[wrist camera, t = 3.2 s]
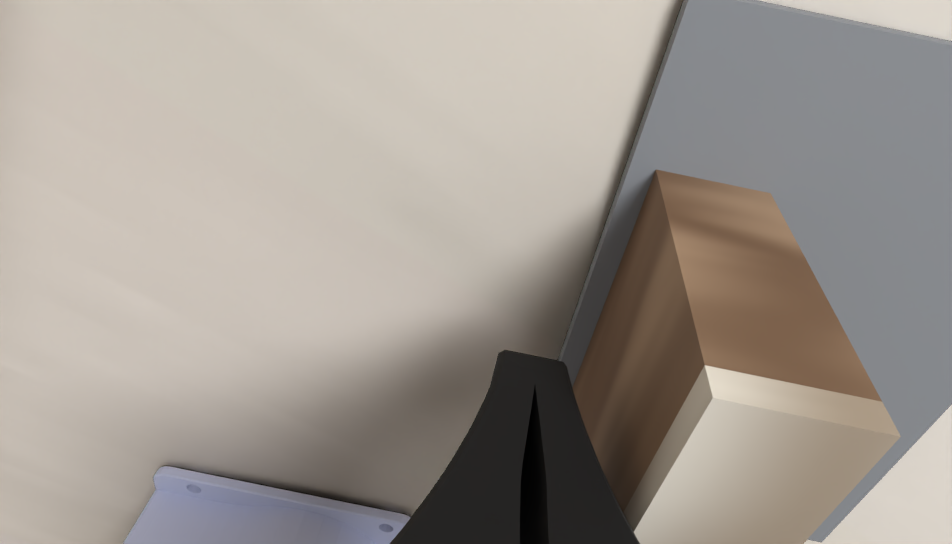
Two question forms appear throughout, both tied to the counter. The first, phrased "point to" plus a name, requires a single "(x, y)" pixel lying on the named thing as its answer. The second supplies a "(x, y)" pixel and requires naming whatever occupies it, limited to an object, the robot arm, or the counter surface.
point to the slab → (724, 376)
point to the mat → (815, 181)
